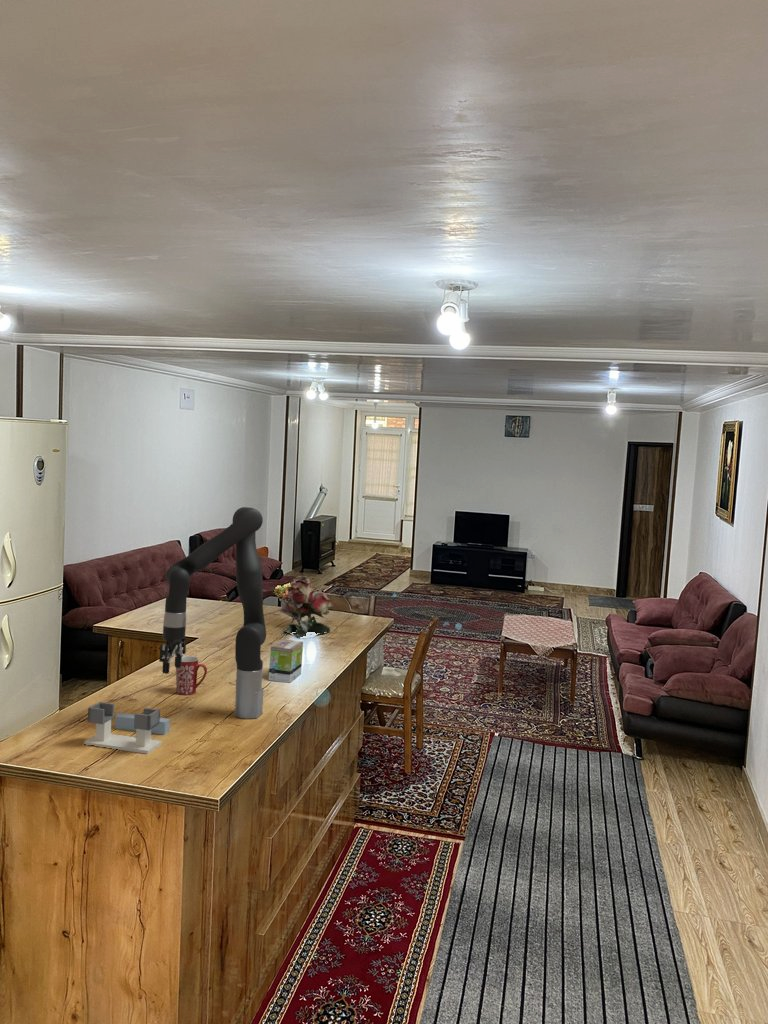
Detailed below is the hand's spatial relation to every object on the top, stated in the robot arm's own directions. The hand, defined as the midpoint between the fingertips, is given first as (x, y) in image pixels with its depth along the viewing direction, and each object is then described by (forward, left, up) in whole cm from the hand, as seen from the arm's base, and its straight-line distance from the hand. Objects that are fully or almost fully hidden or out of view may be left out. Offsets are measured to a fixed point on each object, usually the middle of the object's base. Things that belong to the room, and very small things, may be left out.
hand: (171, 670), depth 277 cm
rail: (+5, +11, -18) cm, 22 cm away
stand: (+4, +25, -18) cm, 31 cm away
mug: (+8, -32, -18) cm, 38 cm away
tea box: (-19, -67, -18) cm, 72 cm away
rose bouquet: (+1, -153, -18) cm, 154 cm away
